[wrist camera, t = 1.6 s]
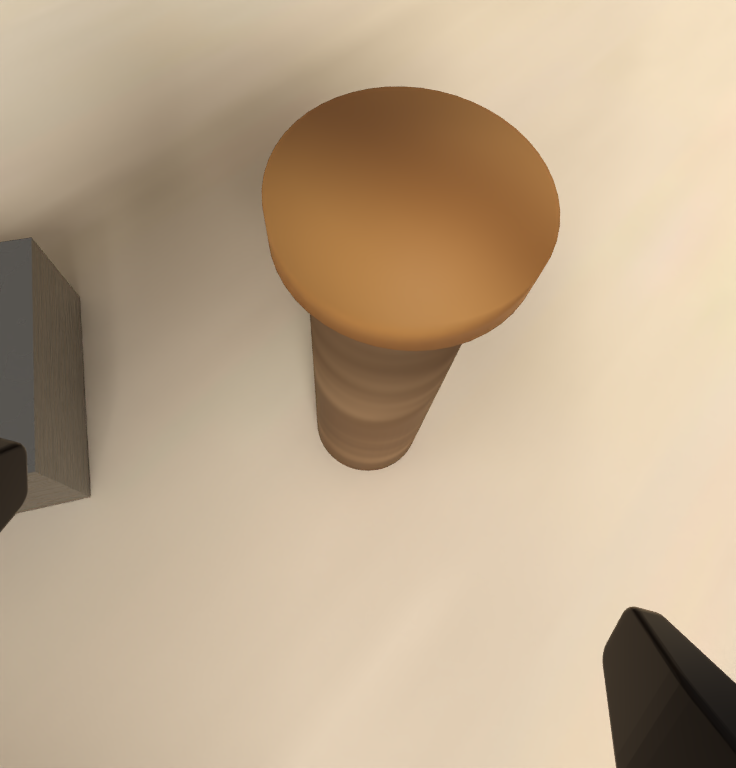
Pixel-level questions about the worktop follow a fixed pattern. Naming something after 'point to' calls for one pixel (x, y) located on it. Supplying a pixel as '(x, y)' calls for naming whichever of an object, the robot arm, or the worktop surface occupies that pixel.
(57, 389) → the block
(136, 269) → the worktop surface
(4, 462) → the robot arm
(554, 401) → the worktop surface
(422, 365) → the pin
